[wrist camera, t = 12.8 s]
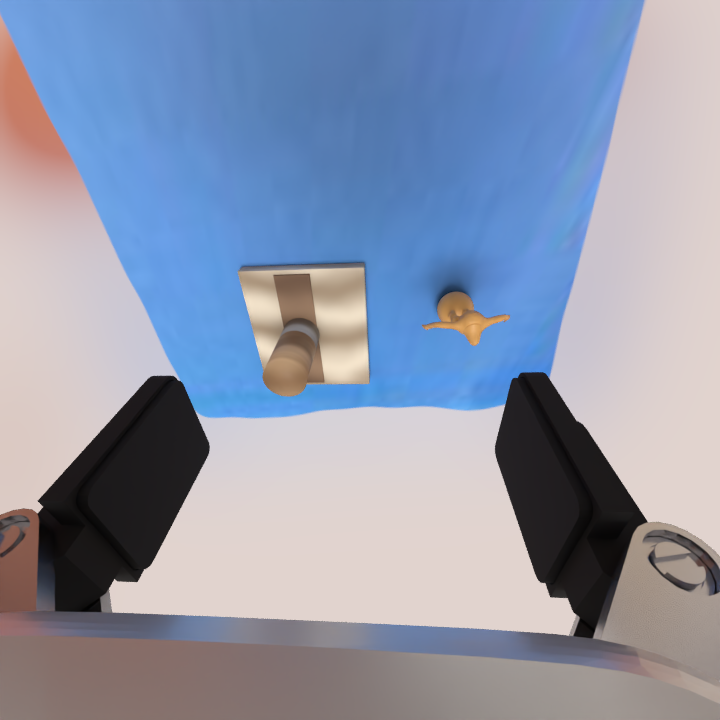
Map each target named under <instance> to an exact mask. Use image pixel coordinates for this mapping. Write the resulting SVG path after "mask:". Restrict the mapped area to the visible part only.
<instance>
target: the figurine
mask: <svg viewBox="0 0 720 720" xmlns="http://www.w3.org/2000/svg"><path fill="white" fill-rule="evenodd" d="M437 313H438V316H439V319H440V320H441V321H442V322H434V323H430V324H427V325H422V326H423V328H424V329H426V330H428V329H431V328H433V327H434V328H437V327H439V328H447V329H455V330H458V331H459V332H460V333H461V334H464V335H465V336H466V338H467V339H468V341H469V342H470V344H471V345H473V346H475V345H477V344H478V343H479V340H480V336H481V333H482V331H483V330H484V329H485V328H486V327H488V326H490V325H492V324H494V323H498V322H500V321H503V320H504V322H505V321H507V320H508V319H509V318H510V315H498V316H494V317H491V318H486V317H484V316H483V315H482V314H481V313H479V312H477V311H474V305H473V302H472V300H471V298H470V297H469V296H468V295H466V294H465V293H462V292H450V293H448V294H446V295H445V296H443V297H442V298H441V300H440V301H439V304H438V307H437Z"/></svg>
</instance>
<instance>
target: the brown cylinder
mask: <svg viewBox="0 0 720 720" xmlns="http://www.w3.org/2000/svg"><path fill="white" fill-rule="evenodd" d="M319 338H320V334H319V330H318V328H317V327H316V325H315V324H314V323H313V322H311V321H309V320H307V319H304V318H295V319H292V320H290V321H289V322H287V324H286V325H285V327H284V329H283V331H282V333H281V335H280V338H279V340H278V342H277V344H276V346H275V348H274V350H273V352H272V355H271V357H270V359H269V361H268V363H267V365H266V367H265V369H264V372H263V381H264V383H265V385H266V386H267V388H268V389H270V390H271V391H272V392H274V393H276V394H278V395H281V396H295V395H298V394H299V393H301V392H302V391H303V390H304V389H305V387H306V383H307V380H308V376H309V373H310V369H311V366H312V362H313V359H314V355H315V352H316V348H317V345H318V341H319Z"/></svg>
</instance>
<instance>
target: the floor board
mask: <svg viewBox="0 0 720 720" xmlns="http://www.w3.org/2000/svg"><path fill="white" fill-rule="evenodd" d="M238 275H239V279H240V283H241V286H242V290H243V294H244V298H245V302H246V305H247V309H248V313H249V317H250V321H251V325H252V328H253V332H254V336H255V340H256V344H257V347H258V351H259V355H260V359H261V363H262V367H263V370H264V369H265V367H266V365H267V363H268V361H269V359H270V357H271V355H272V352H273V350H274V348H275V346H276V344H277V342H278V340H279V338H280V335H281V333H282V331H283V329H284V327H285V325H286V324H287V322H289V321H290V320H292V319H295V318H304V319H307V320H309V321H311V322H313V323H314V324H315V325H316V327H317V328H318V330H319V334H320V338H319V341H318V345H317V348H316V352H315V355H314V359H313V362H312V366H311V369H310V373H309V376H308V380H307V383H306V384H369V381H370V373H369V351H368V328H367V306H366V284H365V263H344V264H314V265H283V266H253V267H242V268H241V269H240V270H239V271H238Z"/></svg>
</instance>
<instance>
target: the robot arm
mask: <svg viewBox="0 0 720 720" xmlns="http://www.w3.org/2000/svg"><path fill="white" fill-rule="evenodd" d="M209 448H210V446H209V442H208V440H207V437H206V435H205V433H204V431H203V429H202V426H201V424H200V422H199V419H198V417H197V415H196V412H195V410H194V408H193V406H192V403H191V401H190V399H189V396H188V394H187V392H186V390H185V387H184V385H183V383H182V382H181V381H178V380H177V379H176V378H175V377H174V376H152V377H150V378H149V379H147V381H146V382H145V383H144V384H143V385H142V386H141V387H140V388H139V390H138V391H137V392H136V393H135V394H134V395H133V396H132V397H131V398H130V399H129V401H128V402H127V403H126V404H125V405H124V406H123V407H122V408H121V409H120V410H119V412H118V413H117V414H116V415H115V416H114V417H113V418H112V419H111V421H110V422H109V423H108V424H107V425H106V426H105V427H104V428H103V429H102V430H101V432H100V433H99V434H98V435H97V436H96V437H95V438H94V439H93V440H92V442H91V443H90V444H89V445H88V446H87V447H86V448H85V449H84V450H83V451H82V453H81V454H80V455H79V456H78V457H77V458H76V459H75V460H74V461H73V462H72V464H71V465H70V466H69V467H68V468H67V469H66V470H65V471H64V472H63V474H62V475H61V476H60V477H59V478H58V479H57V480H56V481H55V482H54V484H53V485H52V486H51V487H50V488H49V489H48V490H47V491H46V493H45V494H44V495H43V496H42V497H41V498H40V499H39V500H38V502H39V503H40V504H41V505H42V506H43V508H42V509H41V510H40V512H39V513H38V514H37V513H36V512H35V511H33V510H32V509H18V510H13V511H10V512H7V513H4V514H1V515H0V720H720V556H719V555H718V554H717V553H716V552H715V551H714V550H713V549H712V548H711V547H709V546H708V545H707V544H706V543H705V542H703V541H702V540H701V539H699V538H698V537H696V536H694V535H692V534H691V533H689V532H688V531H685V530H683V529H681V528H678V527H676V526H674V525H671V524H666V523H661V522H650V523H648V522H647V520H646V519H645V517H644V515H643V514H642V512H641V511H640V509H639V508H638V506H637V505H636V503H635V502H634V500H633V499H632V497H631V496H630V494H629V493H628V491H627V490H626V488H625V487H624V485H623V484H622V482H621V481H620V479H619V478H618V476H617V475H616V473H615V471H614V470H613V468H612V467H611V465H610V464H609V462H608V461H607V459H606V458H605V456H604V455H603V453H602V452H601V450H600V449H599V447H598V446H597V444H596V443H595V441H594V440H593V438H592V437H591V435H590V434H589V432H588V431H587V429H586V428H585V427H584V425H583V424H581V423H579V422H577V421H576V420H575V418H574V416H573V415H572V413H571V412H570V410H569V409H568V407H567V406H566V404H565V402H564V401H563V400H562V398H561V396H560V395H559V394H558V392H557V390H556V389H555V387H554V386H553V384H552V382H551V381H550V379H549V378H548V376H547V375H546V374H545V373H543V372H532V373H520V375H519V376H518V378H513V379H512V381H511V385H510V389H509V393H508V397H507V401H506V405H505V409H504V413H503V417H502V421H501V425H500V428H499V432H498V436H497V441H496V445H495V454H496V458H497V462H498V464H499V467H500V470H501V473H502V476H503V479H504V482H505V485H506V488H507V491H508V494H509V497H510V500H511V503H512V506H513V509H514V512H515V515H516V518H517V521H518V524H519V527H520V530H521V533H522V536H523V539H524V542H525V545H526V548H527V551H528V554H529V557H530V559H531V563H532V565H533V569H534V572H535V574H536V577H537V579H538V580H539V581H540V582H541V583H546V586H547V589H548V592H549V595H550V597H555V598H556V597H557V598H568V600H569V602H570V605H571V607H572V610H573V612H574V613H575V614H576V618H575V621H574V624H573V626H572V629H571V632H570V634H569V636H566V635H557V634H545V633H530V632H514V631H501V630H486V629H469V628H449V627H428V626H409V625H408V626H407V625H389V624H368V623H347V622H325V621H324V622H323V621H303V620H279V619H257V618H234V617H210V616H185V615H158V614H134V613H112V609H111V601H110V593H109V587H110V586H111V584H112V582H113V581H114V579H115V580H117V581H123V582H138V580H139V578H140V576H141V574H142V572H143V571H144V569H146V568H148V567H149V566H150V565H151V564H152V562H153V560H154V558H155V556H156V555H157V553H158V551H159V549H160V547H161V545H162V543H163V541H164V539H165V537H166V535H167V534H168V531H169V530H170V528H171V526H172V524H173V522H174V520H175V518H176V516H177V514H178V512H179V510H180V508H181V507H182V505H183V503H184V501H185V499H186V497H187V495H188V493H189V491H190V489H191V487H192V485H193V483H194V481H195V480H196V478H197V476H198V474H199V472H200V470H201V468H202V466H203V464H204V462H205V460H206V458H207V456H208V454H209Z"/></svg>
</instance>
